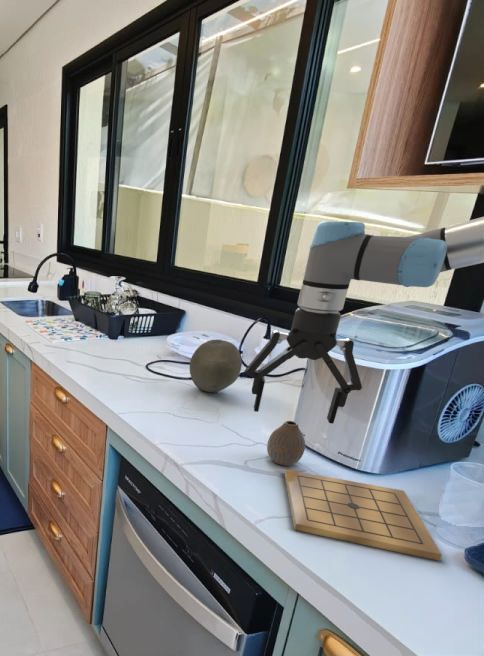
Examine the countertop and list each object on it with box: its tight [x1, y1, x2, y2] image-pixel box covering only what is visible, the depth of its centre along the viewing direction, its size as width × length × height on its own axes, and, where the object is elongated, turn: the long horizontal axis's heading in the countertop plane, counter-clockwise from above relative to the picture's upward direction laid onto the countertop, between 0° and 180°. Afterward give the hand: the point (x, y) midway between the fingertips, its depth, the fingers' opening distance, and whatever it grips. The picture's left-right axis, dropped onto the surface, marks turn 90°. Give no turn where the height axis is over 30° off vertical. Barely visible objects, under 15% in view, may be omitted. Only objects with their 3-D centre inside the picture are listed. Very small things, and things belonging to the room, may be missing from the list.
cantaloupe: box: [189, 339, 243, 393], centre depth 141 cm, size 14×14×15 cm
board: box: [284, 469, 443, 562], centre depth 88 cm, size 20×20×1 cm
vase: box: [266, 420, 306, 467], centre depth 103 cm, size 7×7×9 cm
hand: (292, 415), depth 101 cm, fingers open, 13 cm apart
